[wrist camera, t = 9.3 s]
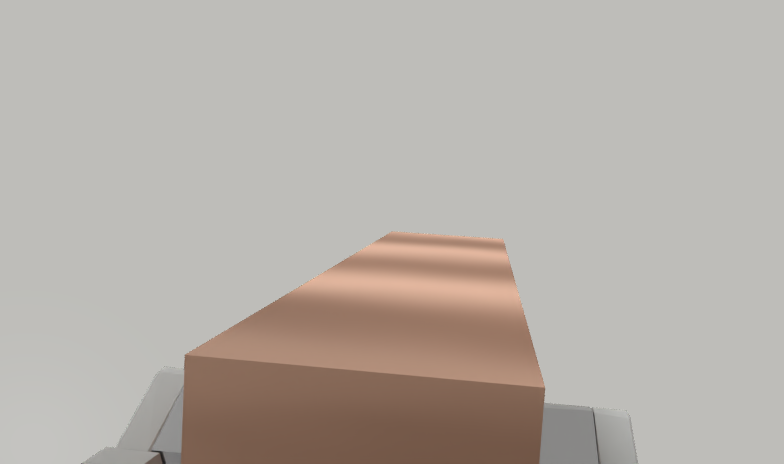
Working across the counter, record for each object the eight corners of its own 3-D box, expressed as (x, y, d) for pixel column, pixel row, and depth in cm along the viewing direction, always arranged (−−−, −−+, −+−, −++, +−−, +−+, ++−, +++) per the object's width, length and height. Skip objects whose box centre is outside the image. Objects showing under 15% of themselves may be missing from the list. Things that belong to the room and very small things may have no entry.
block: (386, 339, 28) (392, 231, 27) (495, 348, 27) (503, 238, 27) (173, 689, 9) (185, 355, 8) (517, 741, 8) (544, 388, 8)
